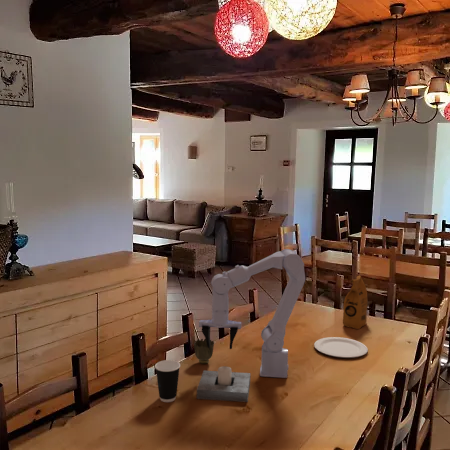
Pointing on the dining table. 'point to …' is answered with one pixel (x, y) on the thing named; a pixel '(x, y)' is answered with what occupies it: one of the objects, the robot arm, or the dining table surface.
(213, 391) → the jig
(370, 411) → the dining table surface
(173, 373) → the dixie cup
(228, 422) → the dining table surface
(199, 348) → the cup
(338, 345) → the plate
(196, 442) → the dining table surface
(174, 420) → the dining table surface
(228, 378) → the white rounded cylinder
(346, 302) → the coffee package
